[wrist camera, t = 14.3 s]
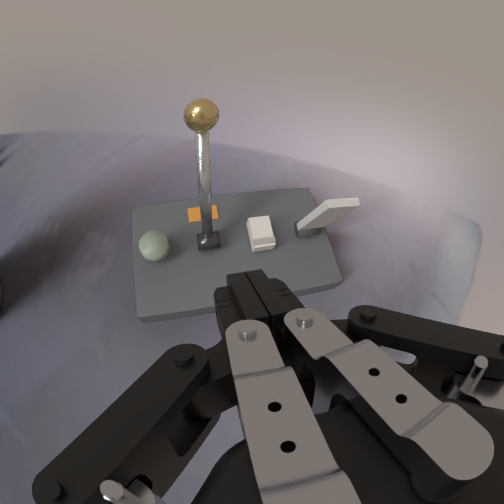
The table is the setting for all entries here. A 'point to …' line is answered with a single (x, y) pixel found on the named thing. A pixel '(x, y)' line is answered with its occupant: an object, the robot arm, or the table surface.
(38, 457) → the table surface
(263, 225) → the white rocker switch
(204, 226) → the brass lever
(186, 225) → the control panel
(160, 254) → the push button
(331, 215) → the pale grey paddle
